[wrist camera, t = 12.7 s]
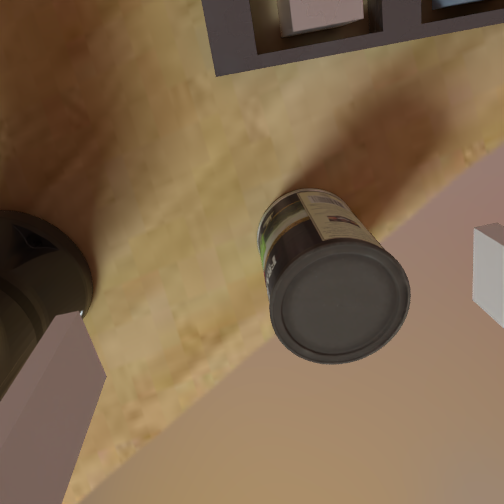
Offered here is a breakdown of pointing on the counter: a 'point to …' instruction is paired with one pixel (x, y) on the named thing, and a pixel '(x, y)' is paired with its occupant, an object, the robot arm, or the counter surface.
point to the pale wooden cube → (316, 15)
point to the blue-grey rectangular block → (450, 3)
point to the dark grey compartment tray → (380, 33)
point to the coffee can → (329, 279)
